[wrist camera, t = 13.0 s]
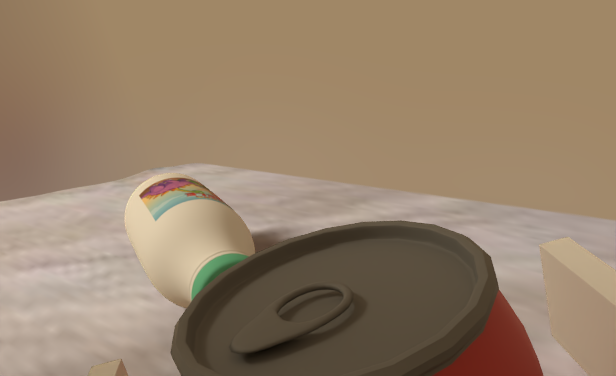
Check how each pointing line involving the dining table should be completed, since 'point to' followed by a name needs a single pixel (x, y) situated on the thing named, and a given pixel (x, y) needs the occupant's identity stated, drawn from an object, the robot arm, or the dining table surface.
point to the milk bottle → (184, 235)
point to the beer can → (357, 309)
